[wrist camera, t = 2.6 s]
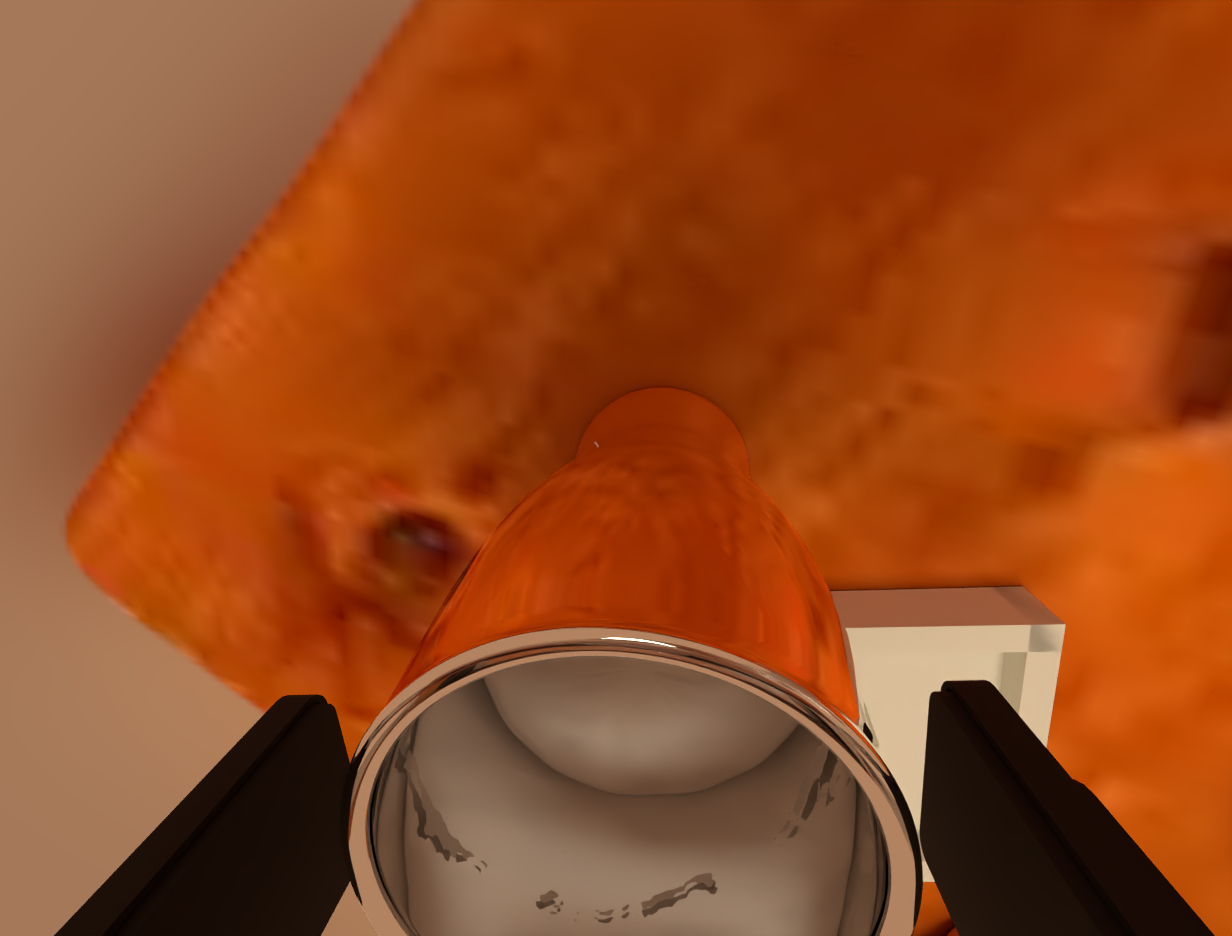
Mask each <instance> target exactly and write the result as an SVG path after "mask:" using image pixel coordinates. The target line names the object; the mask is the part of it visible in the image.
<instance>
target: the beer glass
mask: <svg viewBox="0 0 1232 936" xmlns="http://www.w3.org/2000/svg"><path fill="white" fill-rule="evenodd" d="M749 475H750V469H749V460H748V455H747V450H746V447H745V444H744V441H743V439H742V437H741V435H740V433H739V431H738V429H737V428H736V426H735V425H734V423H733V422H732V421H731V420H730V418H729V417H728V416H727V415H726V414H725V413H724V412H723V411H722V410H721V409H720V408H718V407H717V406H716V405H714V404H713V403H712V402H710V401H708V400H707V399H705V398H703V397H701V396H699V395H697V394H694V393H691V392H688V391H685V390H681V389H675V388H666V387H657V388H647V389H642V390H638V391H634V392H631V393H629V394H626V395H624V396H622V397H620V398H618V399H616V400H614V401H613V402H611V403H610V404H608V405H607V406H606V407H605V408H603V409H602V410H601V411H600V412H599V413H598V414H597V415H596V416H595V418H594V419H593V420H592V421H591V423H590V424H589V426H588V427H587V429H586V431H585V433H584V435H583V437H582V439H581V442H580V444H579V447H578V451H577V455H576V459H575V460H573V461H572V462H570V463H568V464H566V465H565V466H563V467H562V468H560V469H559V470H557V471H556V472H555V473H553V474H552V475H551V476H549V477H548V478H547V479H546V480H544V481H543V482H542V483H540V484H539V485H538V486H537V487H535V488H534V489H533V490H532V491H530V492H529V493H528V494H527V495H526V496H524V497H523V498H522V499H521V500H520V501H519V502H518V503H517V504H516V505H515V506H514V507H513V508H512V510H511V511H510V512H509V513H508V514H507V515H506V517H505V518H504V519H503V520H502V521H501V522H500V524H499V525H498V526H497V527H496V528H495V529H494V531H493V532H492V533H491V534H490V535H489V536H488V538H487V539H486V540H485V541H484V542H483V544H482V545H481V546H480V548H479V549H478V551H477V552H476V553H475V555H474V556H473V558H472V559H471V561H470V562H469V564H468V565H467V567H466V568H465V570H464V571H463V573H462V574H461V576H460V577H459V579H458V580H457V582H456V583H455V585H454V586H453V588H452V589H451V591H450V592H449V594H448V596H447V597H446V599H445V601H444V602H443V604H442V606H441V607H440V609H439V611H438V613H437V614H436V616H435V618H434V620H433V621H432V623H431V625H430V626H429V628H428V630H427V632H426V633H425V635H424V637H423V638H422V640H421V642H420V644H419V646H418V648H417V649H416V651H415V653H414V655H413V657H412V659H411V660H410V662H409V664H408V666H407V668H406V670H405V672H404V673H403V675H402V677H401V679H400V681H399V683H398V684H397V686H396V688H395V689H394V691H393V693H392V695H391V696H390V698H389V700H388V702H387V703H386V705H385V707H384V708H383V709H382V710H381V712H380V713H379V714H378V715H377V717H376V718H375V719H374V721H373V722H372V723H371V725H370V726H369V728H368V729H367V731H366V732H365V734H364V736H363V737H362V739H361V741H360V743H359V745H358V747H357V749H356V751H355V753H354V755H353V758H352V760H351V763H350V766H349V769H348V772H347V775H346V779H345V783H344V787H343V792H342V799H341V809H340V834H341V843H342V850H343V856H344V860H345V865H346V868H347V872H348V876H349V878H350V881H351V884H352V887H353V889H354V892H355V894H356V896H357V898H358V901H359V903H360V905H361V906H362V909H363V911H364V912H365V914H366V916H367V918H368V919H369V921H370V923H371V924H372V925H373V927H374V929H375V930H376V932H377V933H378V934H379V936H912V935H913V932H914V929H915V926H916V923H917V919H918V915H919V910H920V905H921V899H922V889H923V868H922V857H921V850H920V844H919V839H918V835H917V831H916V827H915V824H914V820H913V817H912V814H911V812H910V809H909V806H908V804H907V802H906V800H905V797H904V795H903V793H902V791H901V789H900V787H899V786H898V784H897V782H896V780H895V777H894V774H893V771H892V767H891V764H890V761H889V758H888V755H887V752H886V749H885V746H884V742H883V739H882V736H881V732H880V729H879V726H878V722H877V719H876V716H875V712H874V709H873V706H872V703H871V700H870V697H869V694H868V691H867V688H866V685H865V682H864V679H863V676H862V673H861V670H860V667H859V664H858V661H857V658H856V655H855V652H854V649H853V646H852V643H851V641H850V638H849V636H848V633H847V631H846V629H845V626H844V624H843V621H842V619H841V616H840V614H839V611H838V609H837V607H836V604H835V602H834V599H833V597H832V594H831V592H830V590H829V588H828V586H827V584H826V582H825V580H824V578H823V576H822V574H821V572H820V571H819V569H818V567H817V565H816V563H815V562H814V560H813V558H812V556H811V554H810V553H809V551H808V549H807V547H806V545H805V544H804V542H803V540H802V539H801V537H800V535H799V534H798V532H797V531H796V529H795V528H794V527H793V525H792V524H791V523H790V522H789V520H788V519H787V518H786V517H785V516H784V514H783V513H782V512H781V511H780V510H779V509H778V507H777V506H776V505H775V504H774V503H773V501H772V500H771V499H770V498H769V497H768V496H767V494H766V493H765V492H764V491H763V490H762V489H761V488H760V487H759V486H758V485H757V484H755V483H754V482H753V481H752V480H751V479H750V478H749Z"/></svg>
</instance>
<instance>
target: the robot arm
mask: <svg viewBox="0 0 1232 936" xmlns="http://www.w3.org/2000/svg"><path fill="white" fill-rule="evenodd" d="M349 766H350V762H349V758H348V754H347V751H346V747H345V743H344V739H343V735H342V732H341V728H340V724H339V720H338V717H337V713H336V710H335V707H334V706H333V705H332V704H328V703H327V701H326V699H325V698H324V697H323V696H321V695H287V696H283V697H281V698H280V699H279V700H278V701H276V702H275V704H274V705H273V706H272V707H271V708H270V709H269V710H268V711H267V712H266V713H265V714H264V715H263V716H262V717H261V718H260V719H259V720H258V721H257V722H256V724H255V725H254V726H253V727H252V728H251V729H250V730H249V731H248V732H247V733H246V734H245V735H244V736H243V738H241V739H240V740H239V742H237V744H236V745H235V746H234V747H233V748H232V749H231V750H230V751H229V752H228V753H227V754H226V755H225V756H224V757H223V758H222V759H221V760H220V761H219V763H218V764H217V765H216V766H215V767H214V768H213V769H212V770H211V771H210V772H209V773H208V774H207V775H206V776H205V777H204V779H202V781H201V782H199V784H198V785H197V786H196V787H195V788H194V789H193V790H192V791H191V792H190V793H189V794H188V795H187V796H186V797H185V798H184V799H183V800H182V801H181V802H180V804H179V805H178V806H177V807H176V808H175V809H174V810H173V811H172V812H171V813H170V814H169V815H168V816H167V817H166V819H164V820H163V821H162V823H161V824H160V825H159V826H158V827H157V828H156V829H155V830H154V831H153V832H152V833H151V834H150V835H149V836H148V837H147V838H146V839H145V840H144V841H143V842H142V844H141V845H140V846H139V847H138V848H137V849H136V850H135V851H134V852H133V853H132V854H131V855H130V856H129V857H128V858H127V859H126V860H125V861H124V862H123V864H122V865H121V866H120V867H119V868H118V869H117V870H116V871H115V872H114V873H113V874H112V875H111V876H110V877H109V878H108V879H107V880H106V882H104V884H103V885H102V886H101V887H100V888H99V889H98V890H97V891H96V892H95V893H94V894H93V895H92V896H91V897H90V898H89V899H88V900H87V902H86V903H85V904H84V905H83V906H82V907H81V908H80V909H79V910H78V911H77V912H76V913H75V914H74V915H73V916H72V917H71V918H70V919H69V920H68V922H67V923H66V924H65V925H64V926H63V927H62V928H61V929H60V930H59V931H58V932H57V933H56V934H55V935H54V936H321V934H322V932H323V930H324V928H325V927H326V925H327V923H328V921H329V919H330V917H331V915H332V913H333V912H334V910H335V908H336V906H337V904H338V903H339V901H340V899H341V897H342V895H343V893H344V891H345V889H346V887H347V886H348V884H349V882H350V878H349V876H348V872H347V868H346V865H345V860H344V856H343V850H342V843H341V834H340V809H341V799H342V792H343V787H344V783H345V779H346V775H347V772H348V769H349ZM919 833H920V843H921V848H922V852H923V855H924V858H925V861H926V863H927V865H928V868H929V870H930V872H931V874H932V876H933V879H934V881H935V883H936V885H937V887H938V890H939V892H940V894H941V896H942V898H943V901H944V903H945V905H946V907H947V909H948V912H949V914H950V916H951V918H952V920H953V923H954V925H955V927H956V929H957V931H958V934H959V936H1214V934H1213V933H1212V932H1211V931H1210V930H1209V929H1208V927H1207V926H1206V925H1205V924H1204V923H1203V921H1202V920H1201V919H1200V918H1199V917H1198V916H1197V914H1196V913H1195V912H1194V911H1193V910H1192V909H1191V907H1190V906H1189V905H1188V904H1187V903H1186V902H1185V900H1184V899H1183V898H1182V897H1181V896H1180V894H1179V893H1178V892H1177V891H1176V890H1175V889H1174V887H1173V886H1172V885H1171V884H1170V883H1169V882H1168V880H1167V879H1166V878H1165V877H1164V876H1163V874H1162V873H1161V872H1160V871H1159V870H1158V869H1157V867H1156V866H1155V865H1154V864H1153V863H1152V862H1151V860H1150V859H1149V858H1148V857H1147V856H1146V855H1145V853H1144V852H1143V851H1142V850H1141V849H1140V847H1139V846H1138V845H1137V844H1136V843H1135V842H1134V840H1133V839H1132V838H1131V837H1130V836H1129V835H1128V833H1127V832H1126V831H1125V830H1124V829H1123V828H1122V826H1121V825H1120V824H1119V823H1118V822H1117V820H1116V819H1115V818H1114V817H1113V816H1112V815H1111V813H1110V812H1109V811H1108V810H1107V809H1106V808H1105V806H1104V805H1103V804H1102V803H1101V802H1100V801H1099V799H1098V798H1097V797H1096V796H1095V795H1094V794H1093V793H1092V792H1091V791H1090V790H1089V789H1088V788H1087V787H1086V786H1085V785H1084V784H1082V783H1080V782H1078V781H1076V780H1074V779H1072V778H1071V777H1070V776H1069V775H1068V773H1067V772H1066V771H1065V770H1064V769H1063V767H1062V766H1061V765H1060V764H1059V763H1058V761H1057V760H1056V759H1055V758H1054V757H1053V755H1052V754H1051V753H1050V752H1049V751H1048V749H1047V748H1046V747H1045V746H1044V745H1043V743H1042V742H1041V741H1040V740H1039V739H1038V737H1037V736H1036V735H1035V734H1034V733H1033V731H1032V730H1031V729H1030V728H1029V727H1028V725H1027V724H1026V723H1025V722H1024V721H1023V719H1022V718H1021V717H1020V716H1019V715H1018V713H1017V712H1016V711H1015V710H1014V709H1013V707H1012V706H1011V705H1010V704H1009V703H1008V701H1007V700H1006V699H1005V698H1004V697H1003V695H1002V694H1001V693H1000V692H999V691H998V689H997V688H996V687H995V686H994V685H993V684H992V683H991V682H990V681H987V680H957V681H945V682H943V684H942V686H941V691H934V692H932V693H931V694H930V698H929V709H928V722H927V736H926V749H925V762H924V776H923V789H922V803H921V816H920V830H919Z"/></svg>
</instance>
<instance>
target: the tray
mask: <svg viewBox="0 0 1232 936" xmlns="http://www.w3.org/2000/svg"><path fill="white" fill-rule="evenodd" d="M830 592H831V594H832V597H833V599H834V602H835V604H836V607H837V609H838V611H839V614H840V616H841V619H842V621H843V624H844V626H845V629H846V631H847V633H848V636H849V638H850V641H851V643H852V646H853V649H854V652H855V655H856V658H857V661H858V664H859V667H860V670H861V673H862V676H863V679H864V682H865V685H866V688H867V691H868V694H869V697H870V700H871V703H872V706H873V709H874V712H875V716H876V719H877V722H878V726H879V729H880V732H881V736H882V739H883V742H884V746H885V749H886V752H887V755H888V758H889V761H890V764H891V767H892V771H893V774H894V777H895V780H896V782H897V784H898V786H899V787H900V789H901V791H902V793H903V795H904V797H905V800H906V802H907V804H908V806H909V809H910V812H911V814H912V817H913V820H914V824H915V827H916V831H917V835H918V839H919V844H920V850H921V857H922V868H923V881H925V882H935V881H934V879H933V876H932V874H931V872H930V870H929V868H928V865H927V863H926V861H925V858H924V855H923V852H922V848H921V843H920V833H919V830H920V816H921V803H922V789H923V776H924V762H925V749H926V736H927V722H928V709H929V698H930V694H931V693H932V692H934V691H941V686H942V684H943V682H945V681H957V680H987V681H990V682H991V683H992V684H993V685H994V686H995V687H996V688H997V689H998V691H999V692H1000V693H1001V694H1002V695H1003V697H1004V698H1005V699H1006V700H1007V701H1008V703H1009V704H1010V705H1011V706H1012V707H1013V709H1014V710H1015V711H1016V712H1017V713H1018V715H1019V716H1020V717H1021V718H1022V719H1023V721H1024V722H1025V723H1026V724H1027V725H1028V727H1029V728H1030V729H1031V730H1032V731H1033V733H1034V734H1035V735H1036V736H1037V737H1038V739H1039V740H1040V741H1041V742H1042V743H1043V745H1044V746H1045V747H1046V746H1047V740H1048V734H1049V727H1050V721H1051V715H1052V708H1053V702H1054V695H1055V689H1056V683H1057V676H1058V670H1059V664H1060V657H1061V651H1062V645H1063V638H1064V632H1065V626H1066V624H1065V623H1064V622H1063V621H1061V620H1060V619H1059V618H1058V617H1057V616H1056V615H1055V614H1054V613H1053V612H1051V611H1050V610H1049V609H1048V608H1047V607H1046V606H1045V605H1044V604H1042V603H1041V602H1040V601H1039V600H1038V599H1037V598H1036V597H1035V596H1034V595H1032V594H1031V593H1030V592H1029V591H1028V590H1027V589H1026V588H1025V587H1023V586H1019V587H979V588H938V589H898V590H858V591H830Z"/></svg>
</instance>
